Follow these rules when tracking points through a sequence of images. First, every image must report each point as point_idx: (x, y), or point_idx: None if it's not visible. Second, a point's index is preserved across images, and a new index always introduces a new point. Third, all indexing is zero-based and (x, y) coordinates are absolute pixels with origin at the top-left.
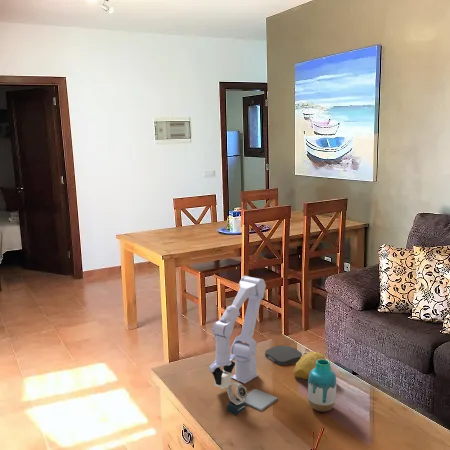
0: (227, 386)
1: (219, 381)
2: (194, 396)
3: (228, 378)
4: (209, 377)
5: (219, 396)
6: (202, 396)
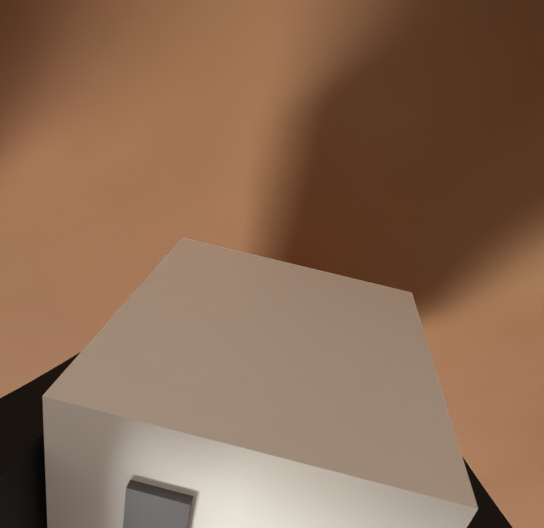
0: (297, 270)
1: (471, 483)
2: (529, 519)
3: (233, 357)
4: None
5: (421, 287)
6: (500, 456)
